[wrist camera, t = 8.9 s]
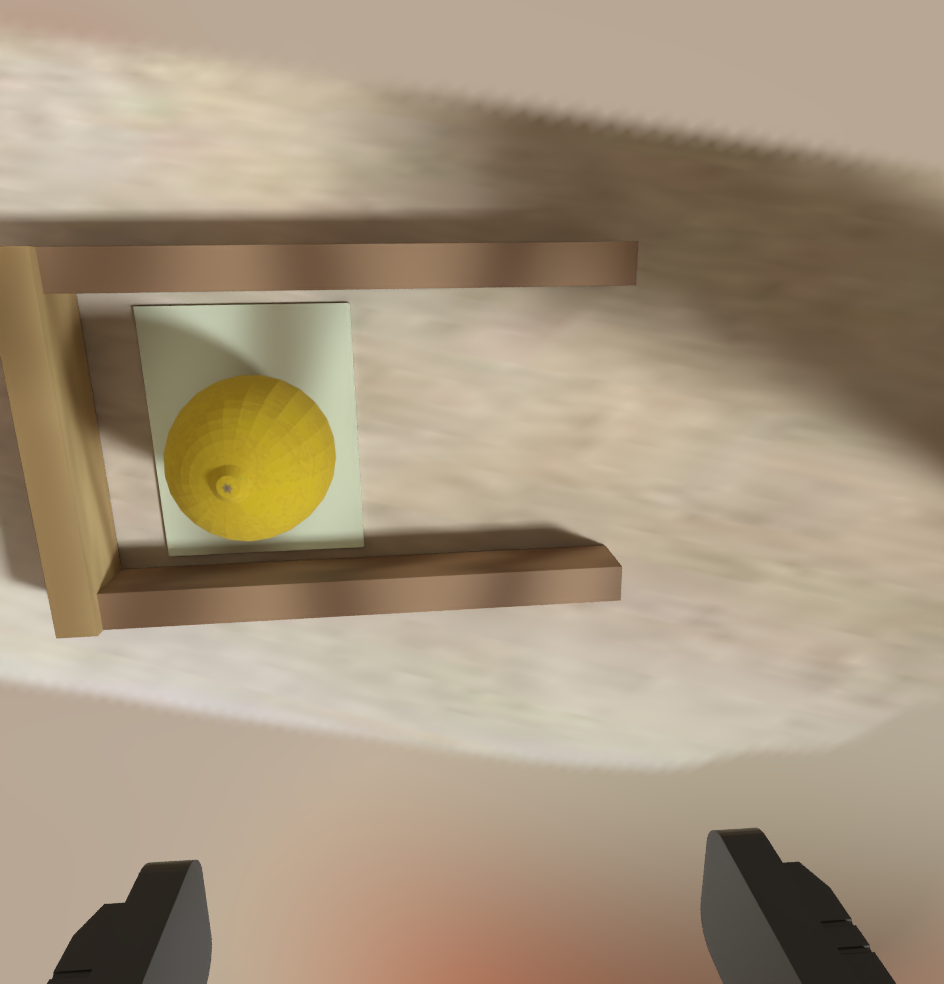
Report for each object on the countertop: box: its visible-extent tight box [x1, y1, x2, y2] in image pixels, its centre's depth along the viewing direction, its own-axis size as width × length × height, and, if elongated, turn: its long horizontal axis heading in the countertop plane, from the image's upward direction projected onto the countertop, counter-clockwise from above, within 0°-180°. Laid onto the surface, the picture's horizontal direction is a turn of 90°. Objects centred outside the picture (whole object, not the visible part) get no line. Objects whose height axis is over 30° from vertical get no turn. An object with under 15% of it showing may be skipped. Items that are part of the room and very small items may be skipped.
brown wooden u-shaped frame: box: [0, 242, 638, 638], centre depth 27 cm, size 22×14×3 cm, turn 91°
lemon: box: [164, 375, 336, 541], centre depth 24 cm, size 6×6×8 cm
